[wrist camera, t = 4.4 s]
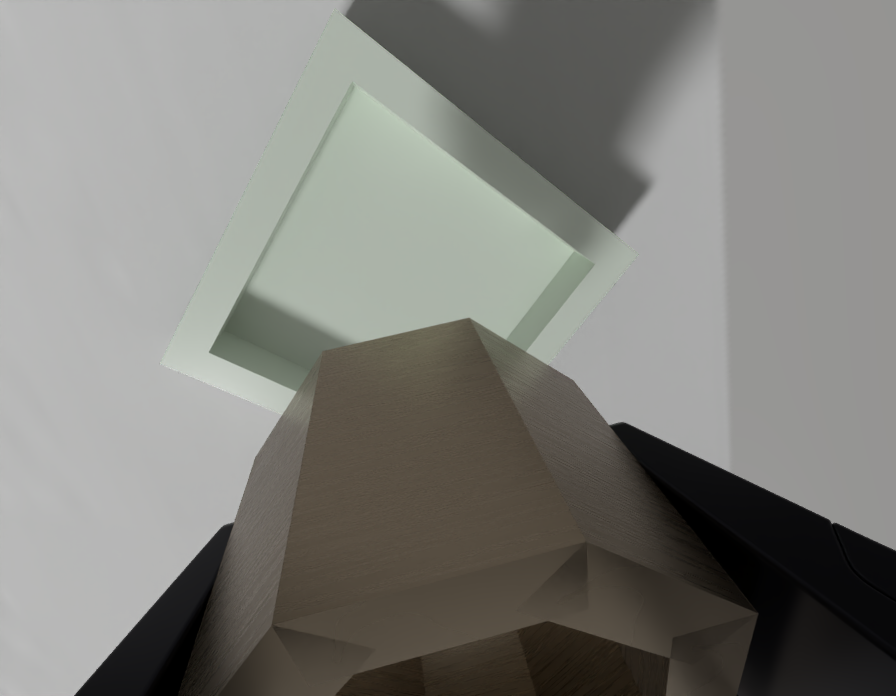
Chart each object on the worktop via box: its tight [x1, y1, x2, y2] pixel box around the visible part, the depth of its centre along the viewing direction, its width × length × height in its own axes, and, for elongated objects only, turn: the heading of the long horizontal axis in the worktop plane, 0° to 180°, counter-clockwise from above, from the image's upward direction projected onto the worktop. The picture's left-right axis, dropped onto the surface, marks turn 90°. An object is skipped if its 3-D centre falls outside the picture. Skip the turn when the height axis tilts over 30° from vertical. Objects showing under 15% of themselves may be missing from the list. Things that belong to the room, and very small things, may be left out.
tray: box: [160, 9, 639, 415], centre depth 17 cm, size 12×12×2 cm
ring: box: [178, 318, 758, 696], centre depth 8 cm, size 7×8×5 cm
